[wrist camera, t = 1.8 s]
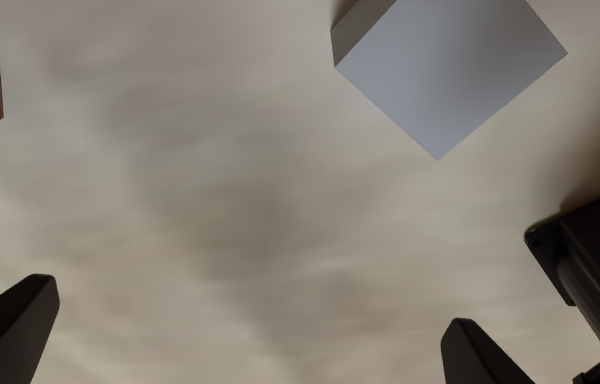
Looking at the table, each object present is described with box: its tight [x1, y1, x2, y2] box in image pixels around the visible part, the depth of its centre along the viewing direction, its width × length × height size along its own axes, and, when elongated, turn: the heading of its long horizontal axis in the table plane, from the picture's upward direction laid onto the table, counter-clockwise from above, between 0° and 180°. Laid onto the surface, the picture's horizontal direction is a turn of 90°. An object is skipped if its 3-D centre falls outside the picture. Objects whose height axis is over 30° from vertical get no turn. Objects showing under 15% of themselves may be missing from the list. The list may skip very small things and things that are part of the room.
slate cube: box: [330, 0, 568, 161], centre depth 15 cm, size 5×5×5 cm
